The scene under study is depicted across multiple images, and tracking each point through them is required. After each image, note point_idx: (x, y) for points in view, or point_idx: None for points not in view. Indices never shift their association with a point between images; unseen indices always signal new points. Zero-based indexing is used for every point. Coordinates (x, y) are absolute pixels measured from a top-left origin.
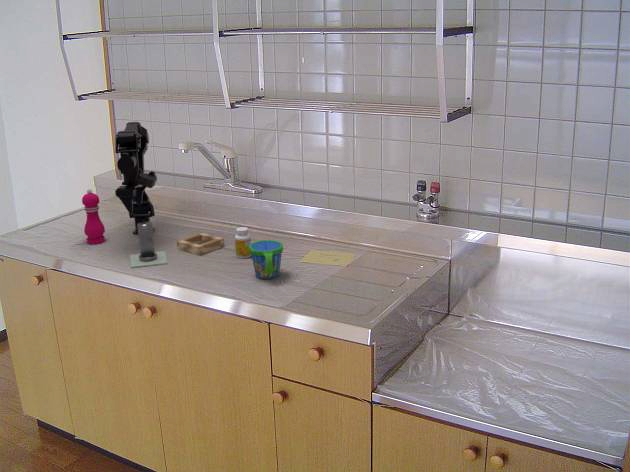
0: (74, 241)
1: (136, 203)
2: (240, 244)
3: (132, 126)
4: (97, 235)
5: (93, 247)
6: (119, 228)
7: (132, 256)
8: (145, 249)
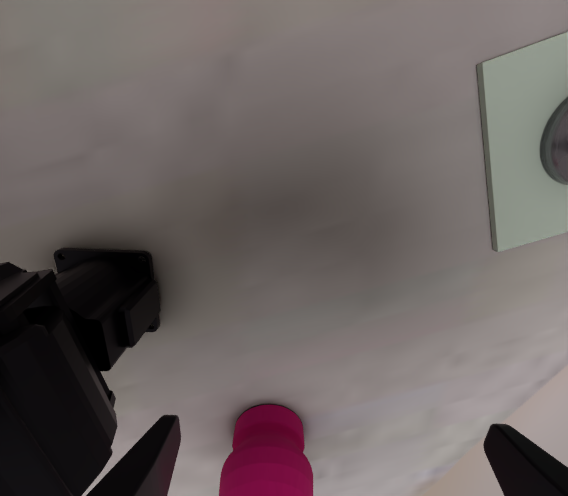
0: None
1: (45, 472)
2: None
3: None
4: (301, 451)
5: (338, 418)
6: None
7: (523, 232)
8: None
